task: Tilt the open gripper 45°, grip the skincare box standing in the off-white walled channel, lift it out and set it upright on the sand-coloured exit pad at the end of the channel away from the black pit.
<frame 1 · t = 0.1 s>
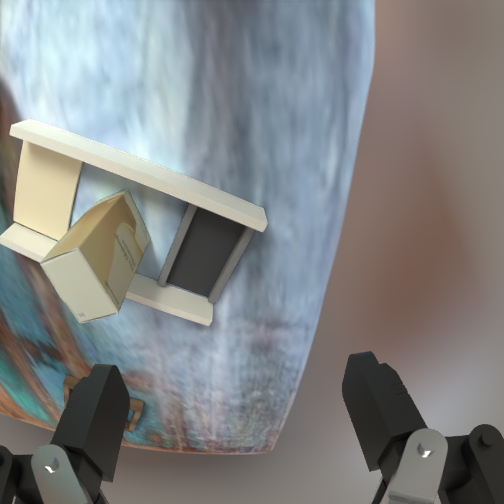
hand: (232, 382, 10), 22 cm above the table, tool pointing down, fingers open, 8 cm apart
skincare box: (122, 218, 30), on the table
pit: (204, 250, 33), on the table
channel: (118, 217, 30), on the table
display frame: (101, 402, 48), on the table
exit pad: (45, 188, 27), on the table
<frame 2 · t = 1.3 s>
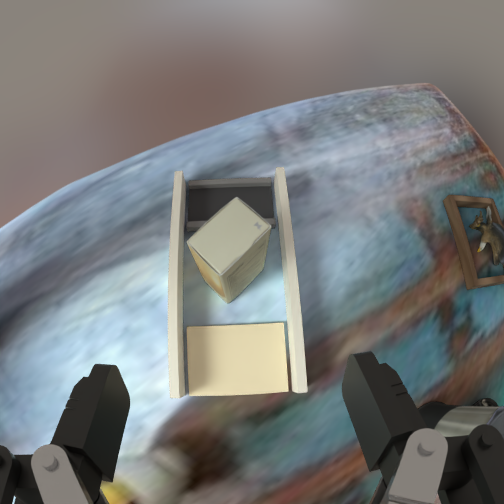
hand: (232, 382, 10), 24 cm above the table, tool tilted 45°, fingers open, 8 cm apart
skincare box: (232, 276, 37), on the table
pit: (230, 205, 40), on the table
channel: (233, 279, 36), on the table
eagle figurine: (481, 245, 40), on the table
milk frother: (449, 427, 30), on the table
display frame: (479, 242, 40), on the table
exit pad: (236, 360, 33), on the table
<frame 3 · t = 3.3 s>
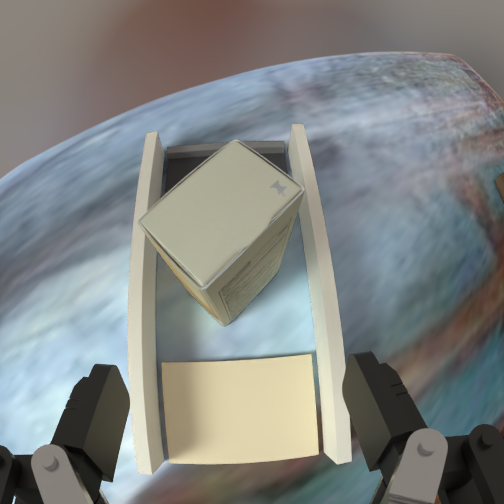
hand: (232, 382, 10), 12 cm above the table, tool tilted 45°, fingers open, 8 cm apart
skincare box: (231, 283, 24), on the table
pit: (226, 179, 27), on the table
channel: (231, 288, 23), on the table
exit pad: (239, 412, 20), on the table
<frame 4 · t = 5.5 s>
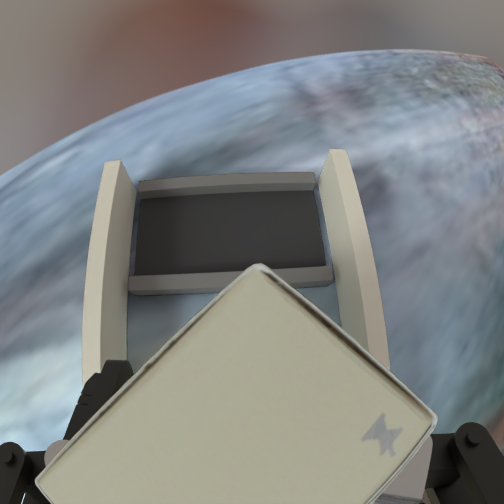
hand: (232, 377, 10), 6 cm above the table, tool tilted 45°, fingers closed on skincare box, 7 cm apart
skincare box: (237, 400, 15), on the table, touching gripper
pit: (228, 234, 18), on the table
channel: (237, 410, 14), on the table
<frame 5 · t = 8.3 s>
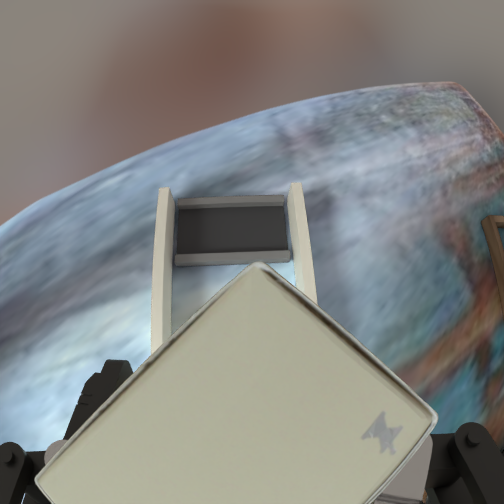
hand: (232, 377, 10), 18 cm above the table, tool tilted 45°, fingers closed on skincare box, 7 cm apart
skincare box: (237, 400, 15), point 12 cm above the table, touching gripper
pit: (231, 231, 31), on the table
channel: (235, 331, 28), on the table
when the fingers open (7 cm above the table, at t = 11.3 s): skincare box drops 1 cm, resting on exit pad.
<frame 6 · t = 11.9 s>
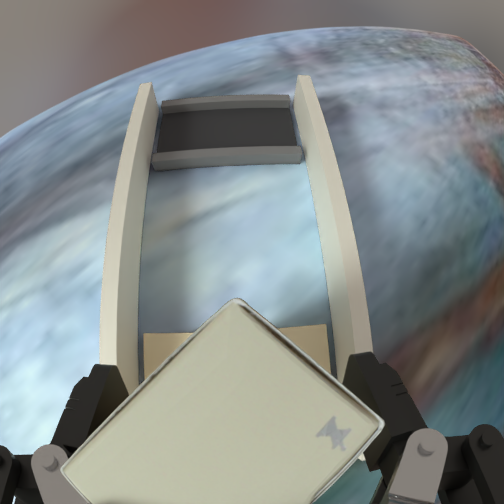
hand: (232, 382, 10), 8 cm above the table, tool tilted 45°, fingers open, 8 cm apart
skincare box: (232, 401, 16), resting on exit pad, touching gripper
pit: (226, 132, 24), on the table
channel: (229, 246, 20), on the table
exit pad: (238, 397, 16), on the table
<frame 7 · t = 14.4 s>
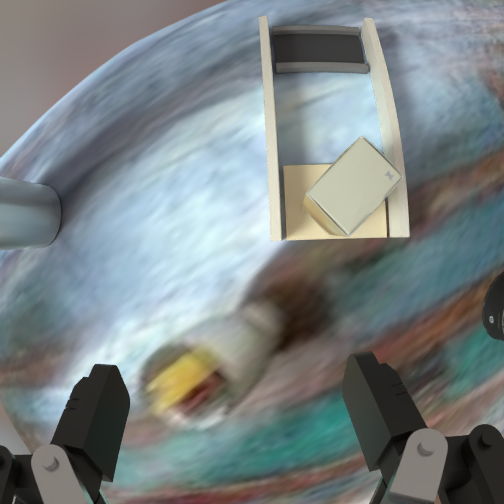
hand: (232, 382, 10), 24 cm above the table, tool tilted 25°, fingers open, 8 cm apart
skincare box: (333, 202, 32), resting on exit pad
pit: (319, 50, 31), on the table
channel: (328, 119, 31), on the table
exit pad: (336, 201, 32), on the table
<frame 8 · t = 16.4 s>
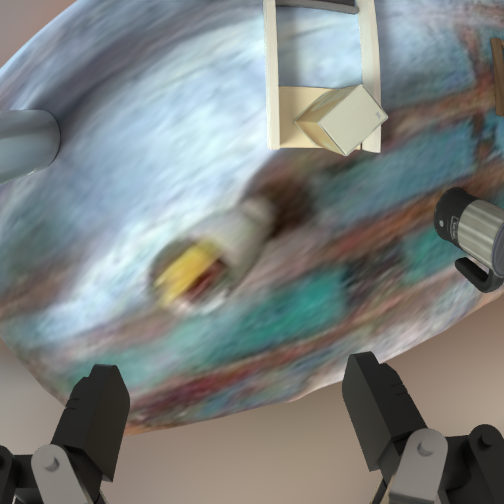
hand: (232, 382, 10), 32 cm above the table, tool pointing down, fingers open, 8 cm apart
skincare box: (318, 118, 36), resting on exit pad
channel: (318, 50, 32), on the table
milk frother: (467, 216, 43), on the table
exit pad: (320, 117, 36), on the table
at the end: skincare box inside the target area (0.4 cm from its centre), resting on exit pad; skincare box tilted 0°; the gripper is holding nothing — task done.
